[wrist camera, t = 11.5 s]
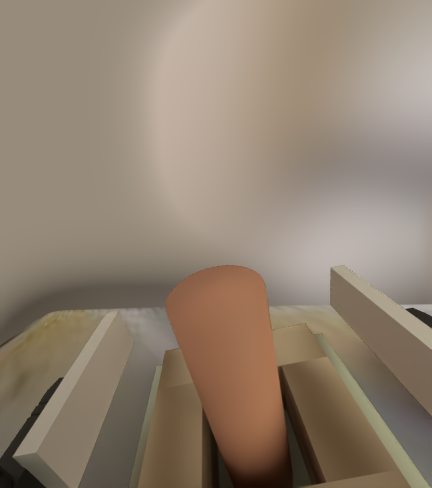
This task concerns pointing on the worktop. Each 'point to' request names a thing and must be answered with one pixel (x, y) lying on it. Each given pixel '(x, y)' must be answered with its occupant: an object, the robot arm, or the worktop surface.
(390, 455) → the socket
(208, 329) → the peg
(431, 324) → the robot arm
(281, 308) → the worktop surface
